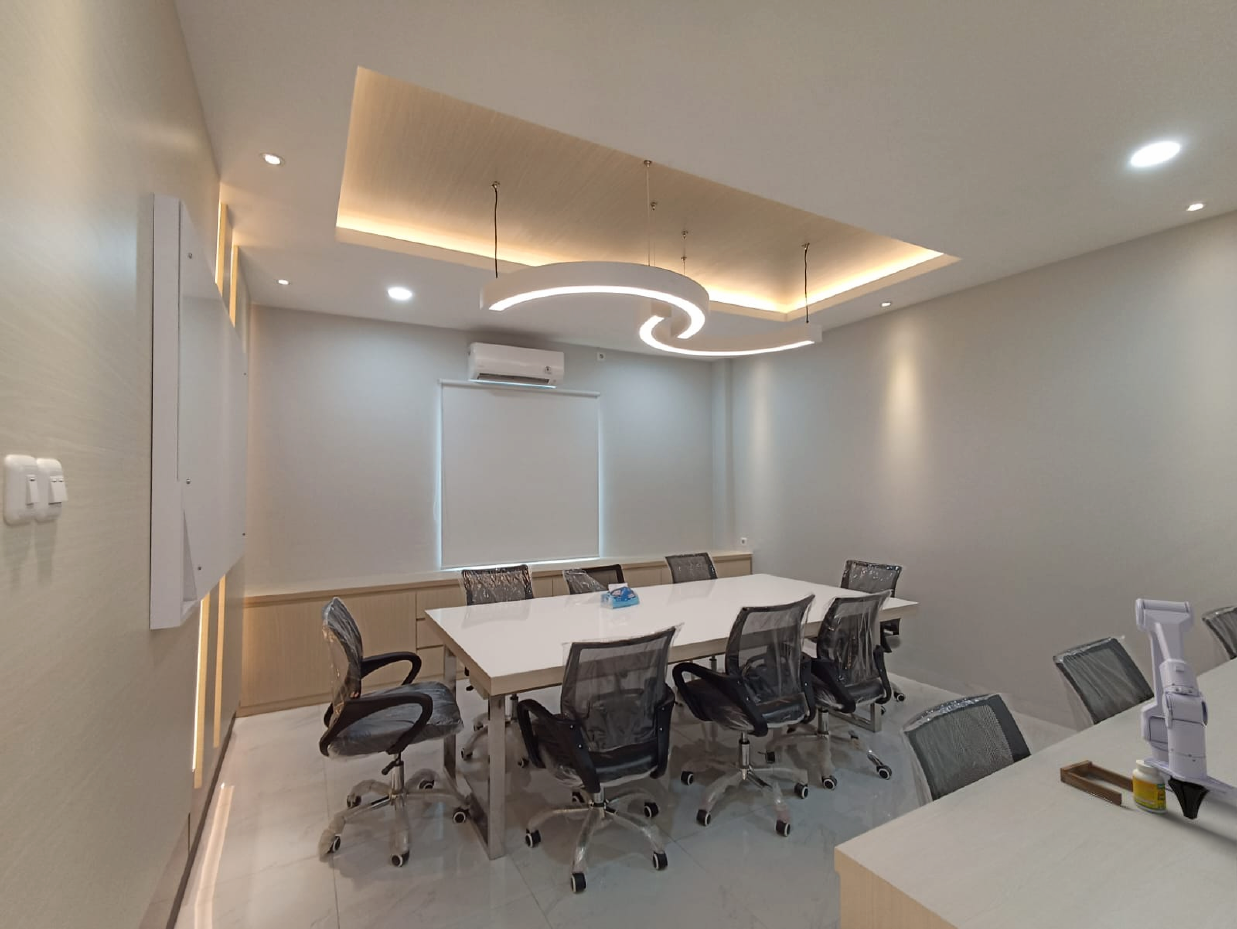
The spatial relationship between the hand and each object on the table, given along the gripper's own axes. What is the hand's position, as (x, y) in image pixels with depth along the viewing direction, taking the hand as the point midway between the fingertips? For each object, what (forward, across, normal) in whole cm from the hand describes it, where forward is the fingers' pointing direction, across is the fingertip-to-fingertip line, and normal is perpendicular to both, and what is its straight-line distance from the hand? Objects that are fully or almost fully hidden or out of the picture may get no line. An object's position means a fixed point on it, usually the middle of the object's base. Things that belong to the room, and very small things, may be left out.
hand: (1190, 817), depth 120 cm
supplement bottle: (+2, -7, 0) cm, 7 cm away
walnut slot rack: (+1, -15, 0) cm, 15 cm away
